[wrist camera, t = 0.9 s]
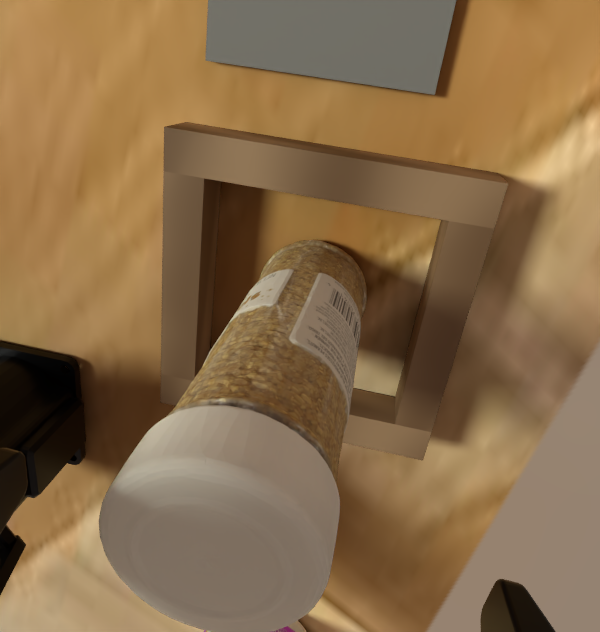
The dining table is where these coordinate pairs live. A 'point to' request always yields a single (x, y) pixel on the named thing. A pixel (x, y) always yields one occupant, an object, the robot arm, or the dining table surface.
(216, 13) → the grey flat square slab
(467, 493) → the dining table surface
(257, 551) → the sprinkles bottle
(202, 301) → the walnut collar stand
